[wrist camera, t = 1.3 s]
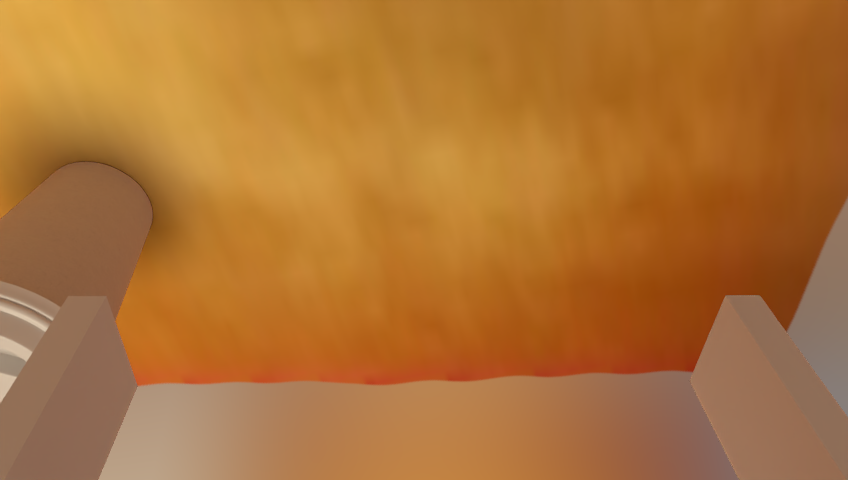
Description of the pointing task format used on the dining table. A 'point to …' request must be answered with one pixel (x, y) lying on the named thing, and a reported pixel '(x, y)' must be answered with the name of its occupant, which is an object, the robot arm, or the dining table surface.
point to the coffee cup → (66, 252)
